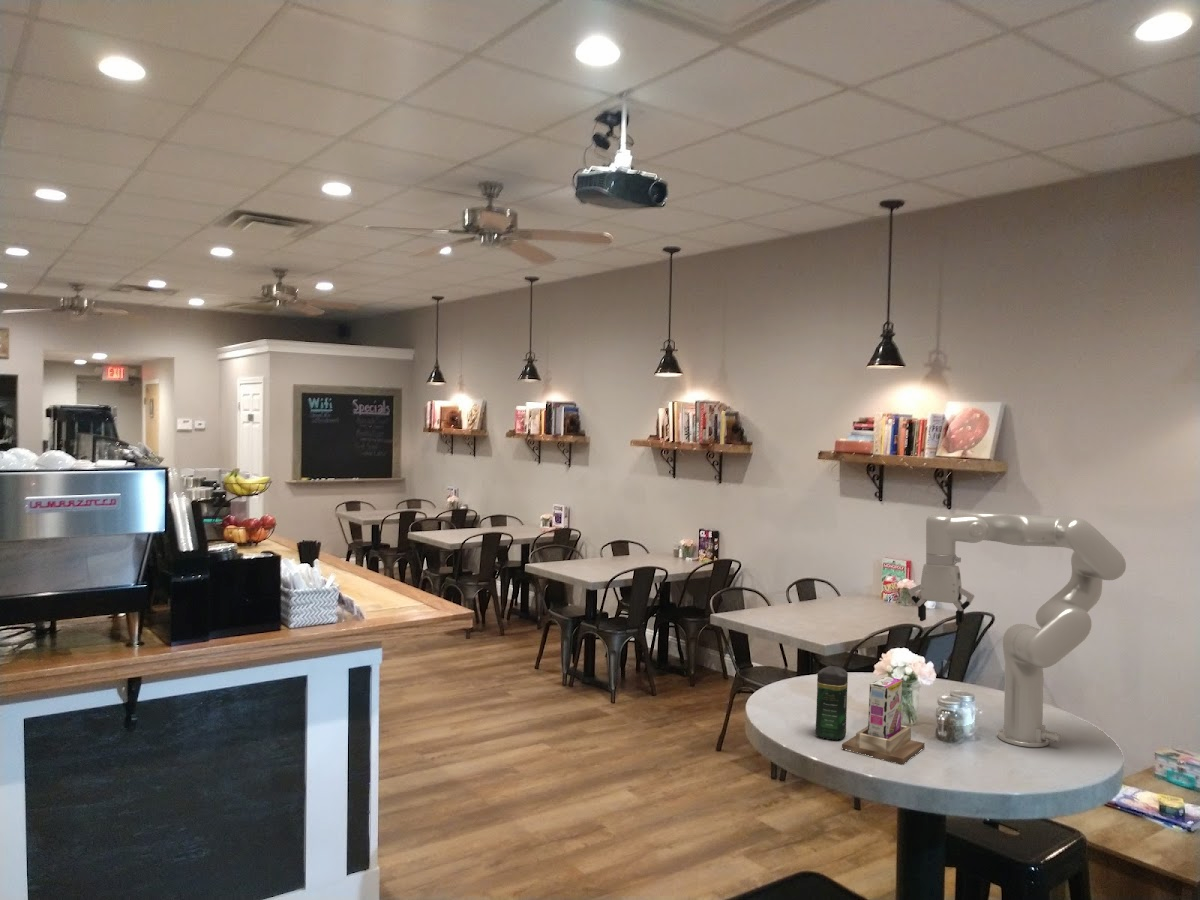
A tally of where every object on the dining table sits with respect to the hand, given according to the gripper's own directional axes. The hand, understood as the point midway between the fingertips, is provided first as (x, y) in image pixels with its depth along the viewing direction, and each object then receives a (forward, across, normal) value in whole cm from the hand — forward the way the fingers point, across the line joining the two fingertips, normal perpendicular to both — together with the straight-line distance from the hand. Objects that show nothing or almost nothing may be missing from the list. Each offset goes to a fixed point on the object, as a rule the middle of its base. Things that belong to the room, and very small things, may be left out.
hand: (940, 622), depth 239 cm
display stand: (+31, +9, +20) cm, 38 cm away
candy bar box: (+30, +8, +19) cm, 37 cm away
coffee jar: (+31, +24, +18) cm, 43 cm away
